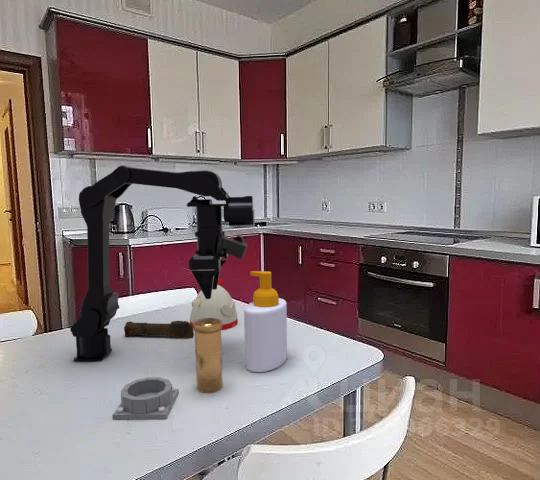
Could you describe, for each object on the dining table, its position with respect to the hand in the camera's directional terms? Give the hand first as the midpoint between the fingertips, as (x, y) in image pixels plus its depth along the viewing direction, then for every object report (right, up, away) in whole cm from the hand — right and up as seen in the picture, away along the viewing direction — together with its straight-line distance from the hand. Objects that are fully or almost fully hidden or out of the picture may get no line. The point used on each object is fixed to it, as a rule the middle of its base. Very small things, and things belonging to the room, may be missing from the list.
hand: (211, 293), depth 93 cm
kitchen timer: (-3, -12, +25) cm, 29 cm away
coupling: (+2, -16, -14) cm, 22 cm away
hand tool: (-16, -14, +16) cm, 26 cm away
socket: (-8, -17, -21) cm, 29 cm away
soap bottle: (+13, -15, -3) cm, 20 cm away
